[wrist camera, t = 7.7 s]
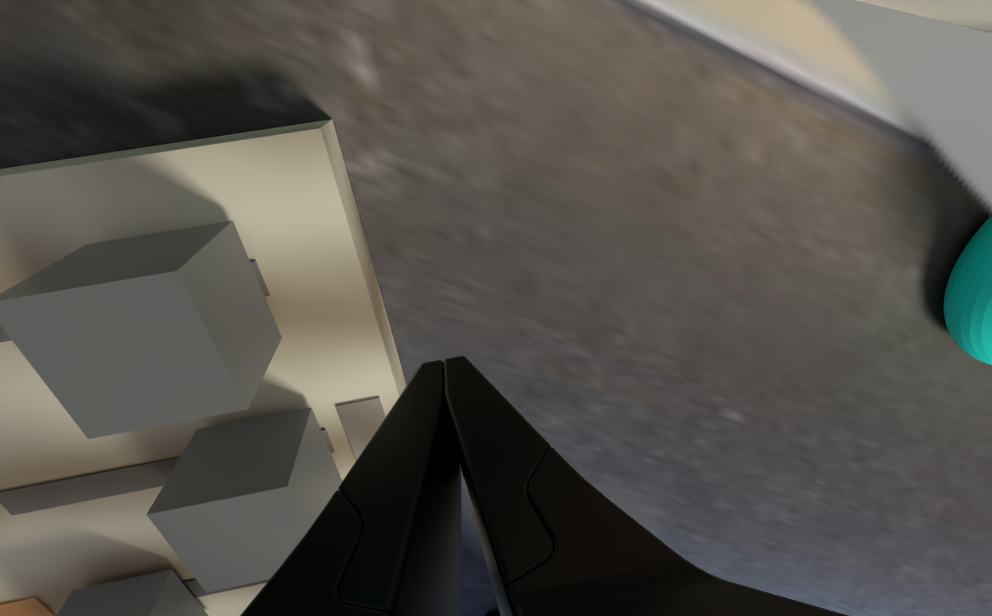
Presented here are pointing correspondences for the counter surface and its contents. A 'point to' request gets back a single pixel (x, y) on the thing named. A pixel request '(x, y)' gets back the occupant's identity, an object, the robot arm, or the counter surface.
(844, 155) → the counter surface
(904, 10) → the medicine bottle
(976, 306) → the donuts
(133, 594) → the grey boxy piece
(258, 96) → the counter surface
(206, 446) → the tab middle
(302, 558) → the robot arm
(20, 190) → the switch panel
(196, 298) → the tab near
